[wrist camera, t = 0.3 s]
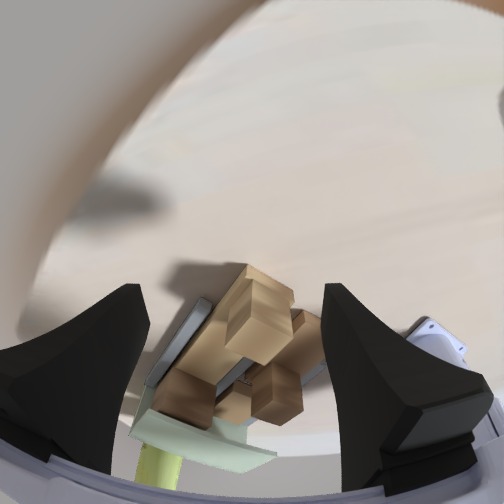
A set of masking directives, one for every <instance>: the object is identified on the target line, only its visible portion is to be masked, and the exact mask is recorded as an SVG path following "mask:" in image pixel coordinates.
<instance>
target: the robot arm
mask: <svg viewBox="0 0 504 504" xmlns="http://www.w3.org/2000/svg"><path fill="white" fill-rule="evenodd" d="M430 325H431V326H430ZM149 328H150V320H149V317H148V313H147V310H146V306H145V303H144V299H143V295H142V291H141V287H140V284H125V285H123V286H121V287H119V288H118V289H116V290H115V291H113V292H112V293H110V294H109V295H107V296H106V297H104V298H103V299H102V300H100V301H99V302H97V303H96V304H94V305H93V306H91V307H90V308H88V309H87V310H85V311H84V312H82V313H81V314H79V315H78V316H76V317H75V318H73V319H72V320H70V321H68V322H67V323H65V324H63V325H61V326H60V327H58V328H56V329H54V330H52V331H50V332H48V333H46V334H44V335H41V336H39V337H37V338H35V339H32V340H30V341H28V342H25V343H22V344H19V345H16V346H13V347H10V348H7V349H3V350H0V490H1V491H2V492H4V493H5V494H7V495H8V496H9V497H11V498H12V499H13V500H15V501H16V502H18V503H19V504H504V406H503V405H502V403H501V401H500V400H499V399H498V398H494V395H493V393H492V391H491V389H490V388H489V386H488V384H487V382H486V380H485V379H484V377H483V375H482V374H479V373H476V372H473V371H471V370H470V368H469V367H468V365H467V363H466V361H465V360H464V358H463V355H464V354H465V353H466V352H467V350H468V348H467V347H466V346H465V345H464V344H463V343H462V342H460V341H459V340H458V339H457V338H455V337H454V336H453V335H452V334H450V333H449V332H448V331H447V330H445V329H444V328H443V327H442V326H440V325H439V324H438V323H436V322H435V321H434V320H433V319H431V318H428V319H426V320H425V321H424V322H423V323H422V324H421V325H420V326H419V327H418V328H417V329H416V330H415V331H414V332H413V333H412V334H410V335H409V336H408V337H407V338H406V339H405V338H403V337H402V336H400V335H399V334H397V333H396V332H395V331H393V330H392V329H391V328H389V327H388V326H387V325H386V324H384V323H383V322H382V321H381V320H380V319H378V318H377V317H376V316H375V315H374V314H373V313H372V312H370V311H369V310H368V309H367V308H366V307H365V306H364V305H363V304H362V303H361V302H360V301H359V300H358V299H357V298H356V297H355V296H354V295H353V294H352V293H351V292H350V291H349V290H348V289H347V288H346V287H345V286H344V285H342V284H341V283H327V284H325V290H324V299H323V307H322V315H321V323H320V328H321V337H322V344H323V350H324V354H325V358H326V362H327V366H328V369H329V373H330V377H331V381H332V385H333V389H334V393H335V398H336V404H337V412H338V421H339V433H340V446H341V468H342V493H335V494H327V495H317V496H305V497H287V498H244V497H226V496H213V495H204V494H196V493H188V492H181V491H175V490H170V489H164V488H159V487H154V486H149V485H145V484H140V483H136V482H132V481H128V480H124V479H121V478H117V477H114V476H111V463H112V451H113V444H114V438H115V431H116V426H117V421H118V417H119V412H120V408H121V405H122V401H123V397H124V394H125V391H126V388H127V385H128V383H129V381H130V378H131V376H132V373H133V371H134V369H135V366H136V364H137V362H138V359H139V357H140V355H141V352H142V350H143V348H144V345H145V342H146V339H147V335H148V331H149Z"/></svg>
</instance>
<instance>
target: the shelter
mask: <svg viewBox="0 0 504 504" xmlns="http://www.w3.org/2000/svg"><path fill="white" fill-rule="evenodd" d="M158 386H159V385H158V384H156V385H155V386H154V388H150V387H148V386H146V385H145V388H144V391H143V394H142V396H141V399H140V402H139V405H138V408H137V411H136V414H135V417H134V420H133V423H132V426H131V429H130V432H129V435H128V436H130V437H132V438H134V439H137V440H139V441H141V442H144V443H146V444H149V445H151V446H153V447H156V448H159V449H161V450H164V451H166V452H169V453H172V454H175V455H177V456H180V457H183V458H186V459H189V460H192V461H195V462H199V463H202V464H205V465H209V466H212V467H216V468H219V469H223V470H227V471H231V472H235V473H239V474H242V473H244V472H246V471H248V470H251V469H253V468H255V467H257V466H259V465H261V464H264V463H266V462H268V461H270V460H272V459H274V458H276V457H277V452H273V451H269V450H265V449H261V448H257V447H254V446H250V445H247V444H246V439H247V426H245V425H242V424H240V425H237V424H234V423H231V422H228V421H225V420H222V419H220V418H217V417H214V416H213V420H212V426H211V427H210V428H208V429H207V430H206V431H203V430H201V429H198V428H195V427H193V426H190V425H187V424H185V423H182V422H180V421H177V420H175V419H172V418H170V417H168V416H165V415H163V414H161V413H158V412H156V411H154V410H152V409H150V408H151V405H152V402H153V398H154V395H155V392H156V389H157V387H158Z"/></svg>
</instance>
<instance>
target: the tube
mask: <svg viewBox="0 0 504 504" xmlns="http://www.w3.org/2000/svg"><path fill="white" fill-rule="evenodd" d="M182 460H183V457H180V456H177V455H175V454H172V453H169V452H166V451H164V450H161V449H159V448H156V447H153V446H151V445H149V444H146V443H144V442H143V444H142V448H141V453H140V457H139V462H138V466H137V471H136V476H135V481H134V482H136V483H140V484H145V485H149V486H154V487H159V488H164V489H170V490H175V489H176V485H177V480H178V476H179V473H180V468H181V464H182Z"/></svg>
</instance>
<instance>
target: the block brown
mask: <svg viewBox="0 0 504 504" xmlns="http://www.w3.org/2000/svg"><path fill="white" fill-rule="evenodd" d="M320 323H321V319H320V318H318V317H316V316H314V315H312V314H310V313H309V312H307V311H305V310H303V311H302V312H301V313H300V314H299V315H298V316H297V317H296V318H295V319H294V320H293V321H292V329H293V339H292V340H291V341H290V342H289V343H288V344H287V345H286V346H285V347H284V348H283V349H282V350H281V351H280V352H279V353H278V354H277V355H275V356H274V357H273V358H272V359H271V360H270V361H269V362H268V363H267V364H266V365H265V366H264V365H262V364H260V363H257V362H254V363H253V364H252V365H251V366H250V367H249V368H248V369H247V370H245V381H246V382H248V383H251V384H252V398H251V417H253V418H256V419H259V420H262V421H265V422H269V423H272V424H275V425H278V426H282V425H283V424H285V423H286V422H288V421H289V420H291V419H292V418H294V417H295V416H297V415H298V414H300V413H301V412H303V411H304V409H303V399H302V389H301V380H300V379H301V378H302V377H303V376H305V375H306V374H307V373H308V372H309V371H311V370H312V369H313V368H314V367H315V366H316V365H318V364H319V363H320V362H321V361H322V360H323V359H324V358H325V354H324V350H323V344H322V337H321V328H320Z"/></svg>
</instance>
